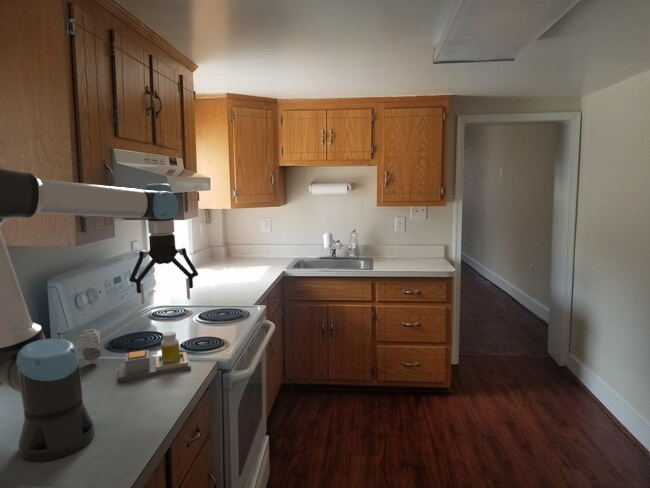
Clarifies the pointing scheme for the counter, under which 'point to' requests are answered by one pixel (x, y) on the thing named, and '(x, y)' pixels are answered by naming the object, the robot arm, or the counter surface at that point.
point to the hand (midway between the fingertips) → (166, 300)
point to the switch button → (137, 354)
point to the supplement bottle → (170, 348)
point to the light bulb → (93, 351)
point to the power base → (151, 367)
